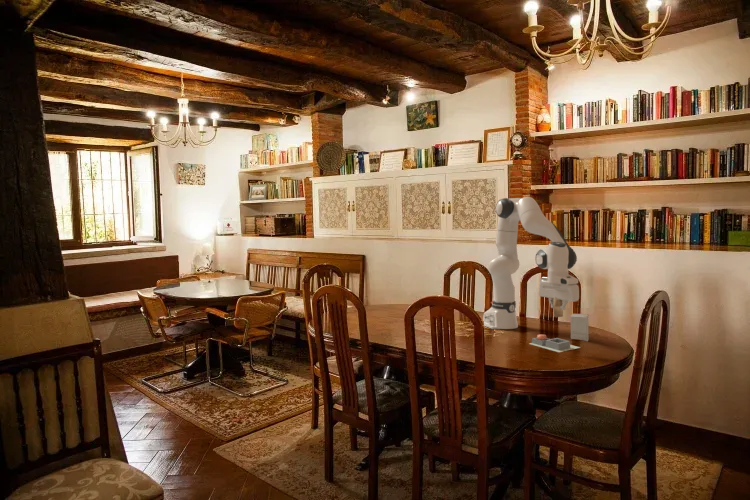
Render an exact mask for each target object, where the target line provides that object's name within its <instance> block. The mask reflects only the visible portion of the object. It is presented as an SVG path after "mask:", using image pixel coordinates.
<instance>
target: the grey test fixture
mask: <svg viewBox="0 0 750 500" xmlns="http://www.w3.org/2000/svg"><path fill="white" fill-rule="evenodd" d="M528 344H529V345H531V346H536V347H538V348H542V349H546V350H549V351H553V352H556V353H562V352H567V351H571V350H572V351H573V350H575V349H580V348H581V346H576V345H573V344H571V340H567V339H562V338H559V337H556V338H555V337H554V338H548V337H546V340H543V341H541V340H538V339H537V337H533V338H531V342H530V343H528Z"/></svg>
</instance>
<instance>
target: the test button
mask: <svg viewBox="0 0 750 500" xmlns="http://www.w3.org/2000/svg"><path fill="white" fill-rule="evenodd" d="M536 338H537V339H538V340H541V341H543V340H546V338H547V335H546V334H537V336H536Z"/></svg>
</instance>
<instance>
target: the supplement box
mask: <svg viewBox="0 0 750 500" xmlns="http://www.w3.org/2000/svg"><path fill="white" fill-rule="evenodd" d="M589 336H590V335H589V314H585V313H572V314H570V339H571V340H580V341H583V342H588V341H589Z"/></svg>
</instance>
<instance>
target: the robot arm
mask: <svg viewBox="0 0 750 500" xmlns="http://www.w3.org/2000/svg"><path fill="white" fill-rule="evenodd" d="M495 214H496V215H497V216H498V220H497V225H496V236H495V245H496V249H497V256H496V257H494V258H493V259H492V260H490V261H489V263H488V266H487V269H488V272H489V274H490V275H491V279H492V284H493V301H491V302H490V304H491V307H490V308H489V309H488V310H486V311H485V312H483V316H482V320H483V321H484V325H483V326H485V327H486V328H489V329H492V330H513V329H517V328H518V327H519V323H518V320H517V311H516V306H517V303H516V300H515V299H516V294H515V293H516V290H515V289H516V288H515V287H516V286H515V285H514V283H513V278H512V274H514V273H516V272H517V271H518V270H519V268H520V260H519V257H518V249H517V247H518V245H517V244H518V243H517V242H518V233H519V222H520V223H521V226H522V227H523V229H524V230H525V231H526V232H527V233H529V234H533V235H538V236H540V237H541V236H542V237H544V238H547V239H549V240H550V241H551V242H549V243H548V246H546V247H544V248H541V249H539V250H538V251H537V252H536V254H535V264H536V266H538V267H539V268H540V269H541V270H547V276H542V277H541V278H540V279H539V284H538V285H539V286H538V296H539V297H542V298H548V302H549V304H550V308H551V309H554V306H553V299H554V297H556V298H557V299H559V300H562V302H563V304H562V306H560V309H561V310H563V311H565V310H566V306H567V305H568V303H569V302H574V303H575V302H578V301H579V299H580V288H579V285H578V284H579V279H578V278H576V277H574V276H573V275H571V274H569V270H570V269H572V268H573V267H574V266H575V264H576V262H577V261H578V258H577V256H578V255H577V254H576V251H575V249H573V248H572V247H571V246H570V245H569V243H568V241H566V239H565V238H564V235H563V234H562V233H561V232H560V230H559V229H558V226H556V225H555V223H553V222H552V221H550V220H549V219H548V218H547V217H546V216H545V215H544V214H543V211H542V209H541V207H540V206H539V204H538V202H537V201H536V200H535V199H534V198H533V197H531V196H523V197H515V198H514V197H513V198H512V197H511V198H507V197H505V198H500V199H499V200H498V201H497V203H496V205H495Z"/></svg>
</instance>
